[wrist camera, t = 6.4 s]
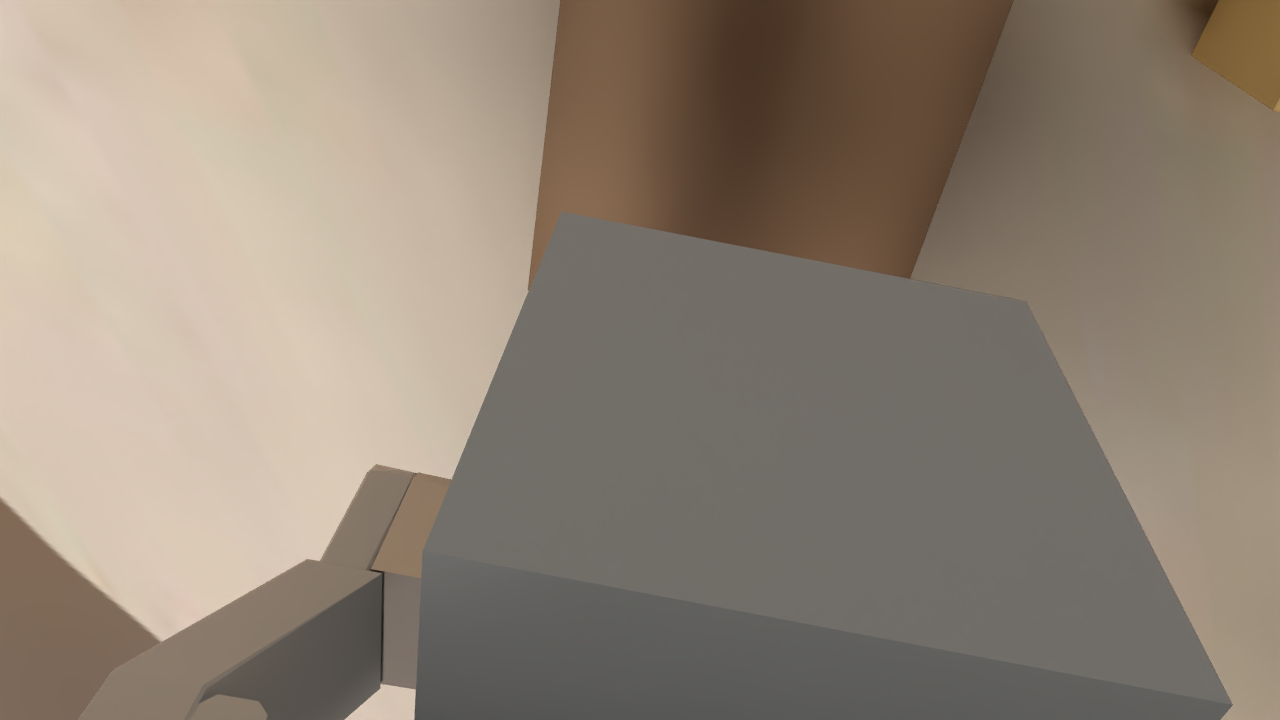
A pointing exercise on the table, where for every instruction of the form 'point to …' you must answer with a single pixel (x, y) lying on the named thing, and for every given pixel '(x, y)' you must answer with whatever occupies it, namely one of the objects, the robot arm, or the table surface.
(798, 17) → the walnut base
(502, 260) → the table surface
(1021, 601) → the slate cube
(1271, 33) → the mustard cube
